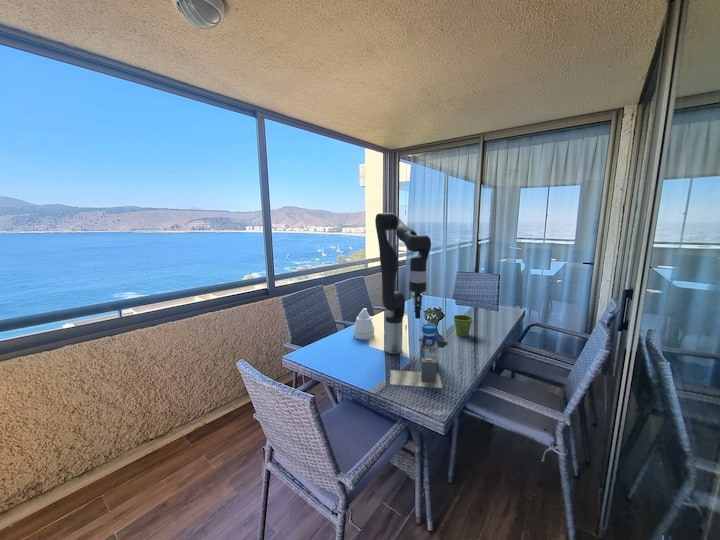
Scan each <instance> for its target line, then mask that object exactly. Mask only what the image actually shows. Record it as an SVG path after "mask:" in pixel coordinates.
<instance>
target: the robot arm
mask: <svg viewBox="0 0 720 540" xmlns="http://www.w3.org/2000/svg"><path fill="white" fill-rule="evenodd" d="M374 220H375V221H374V222H375V229H376V235H377V241H378V249H379V251H378V252H379V262H380V271H381V285H382V286H381V287H382V288H381V289H382V290H381V294H382V296H381V298H382V299H381V301H382V304H383V308H384V309H385V310H387V311H388V313H386V315H385V332H384V333H383V350H384V351H385V353H388V354H391V355H398V354H401V353H402V352H403V321H404V316H405V308H406V299H405V298H406V297H405V294H403V293H402V292H401V291H399V290H395V289H394V285H395V279H396V276H397V272H398V270H399V261H398V253H397V252H396V250H395V249H394V247H393V246H392V245H391V243H390V242H389V240H388V238H387V234H386V231H392V230H393V231H395V235H396V237H397V239H399V240H400V241H402V243H403V244H404V246H405V247H406V249H407V250H408V251H410V252H412V253H415V252H416V253H417V252H418V254H417V255H416V256H413V257H411V258H410V262H409V264H410V265H409V266H410V268H409V277H408V278H409V282H408V283H409V288H408V289H409V291H410V292H413V294H412V299H413V300H412V301H413V306H414V310H413V312H414V316H415V317H414V318H415V319H416V320H417V319H421V311H422V305H423V294H422V293H424V292H427V283H428V282H427V280H428V279H427V277H428V276H427V261H428V258H429V255H430V251H431V247H432V241H431V238H430V237H429V236H428V235H426V234H425V235H424V234H422V235H418V234H417V232H416V231H414V229H412V228H410V227H409V226H407V225H406V224H405V223H404V222H403V221H402V220H401V218H400V217H399V216H398V215H397V214H396V213H394V212H379V213H378V214H377V213H376V215H375V219H374ZM394 290H395V291H394Z"/></svg>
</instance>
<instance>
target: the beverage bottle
mask: <svg viewBox="0 0 720 540" xmlns="http://www.w3.org/2000/svg"><path fill="white" fill-rule="evenodd" d="M421 332H422V333H421V335H420V338H419V339H420V340H421V341H419V362H420V363H421V358H435V359H436V364H437V363H438V361H437V357H438V356H437V355H438V346H437V339H438V337H437V335H436V333H437V326H436V325H435V324H433V323H425V324H422V326H421Z"/></svg>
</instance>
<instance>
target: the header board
mask: <svg viewBox="0 0 720 540" xmlns="http://www.w3.org/2000/svg"><path fill="white" fill-rule="evenodd" d="M389 376H390V377H389V385H392V386H393V385H396V386H407V387H409V386H411V387H423V388H424V387H426V388H435V389H436V388H438V389H443V385H442V384H443V383H442V381H441V376H440V373H438V372H436V382H425V381H421V371H410V370H409V371H408V370H395V369H394V370H393V369H391V370H390V373H389Z"/></svg>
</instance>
